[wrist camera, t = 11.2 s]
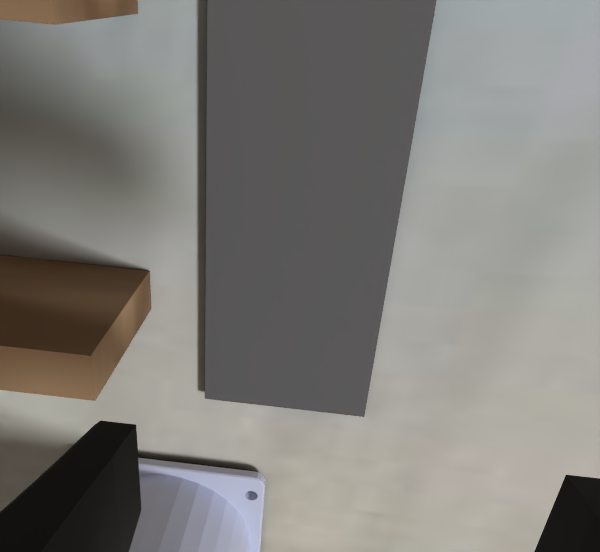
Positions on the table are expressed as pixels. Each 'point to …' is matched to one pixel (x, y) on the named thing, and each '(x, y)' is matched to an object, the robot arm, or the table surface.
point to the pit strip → (305, 191)
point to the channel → (66, 281)
